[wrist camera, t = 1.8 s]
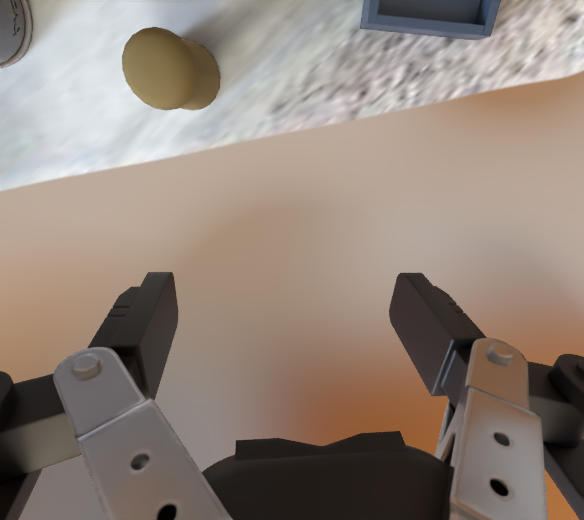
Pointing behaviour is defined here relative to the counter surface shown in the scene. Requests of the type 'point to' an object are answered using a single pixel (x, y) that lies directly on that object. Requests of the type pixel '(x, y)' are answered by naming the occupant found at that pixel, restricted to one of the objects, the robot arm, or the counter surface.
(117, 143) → the counter surface
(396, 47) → the counter surface
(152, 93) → the cork
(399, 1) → the tray
